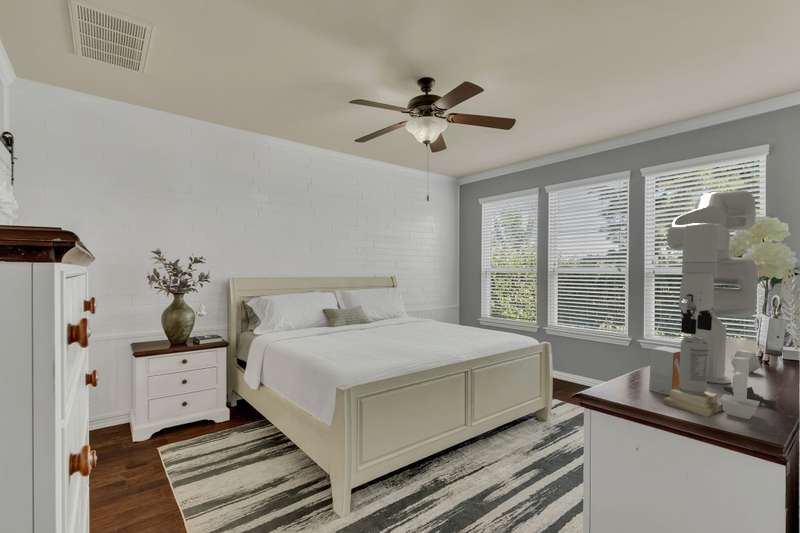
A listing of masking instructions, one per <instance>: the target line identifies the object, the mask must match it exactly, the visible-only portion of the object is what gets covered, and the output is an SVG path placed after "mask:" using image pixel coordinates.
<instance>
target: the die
mask: <svg viewBox="0 0 800 533" xmlns="http://www.w3.org/2000/svg"><path fill="white" fill-rule="evenodd" d="M734 357H744V358H749V374H750V373H751V374H752V373H754V372H756V371H757V370H759V369H760V368H761V364H760V359H759V357H758V356H757V354H756V352H752V351H749V350H746V349H742V350H741V349H740V350H737V351H735V352H734V353H732V354H731V355H729V358H730V363H731V365H732V367H733V368H734V370H735V364H734Z"/></svg>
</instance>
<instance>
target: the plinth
mask: <svg viewBox="0 0 800 533" xmlns="http://www.w3.org/2000/svg"><path fill="white" fill-rule="evenodd" d="M718 396H719V395H718V394H717V393H713V392H709V391H706V392H704V394H703V395H696V394H690V393H686V392H684V391H682V390H681V388H680V387H678V388H675V389H672V390H670V396H668V397H665V398H663V404H664V405H666V406H669V407H673V408H677V409H679V410H682V411H683V410H684V411H687V412H690V413H693V414H697V415H700V416H703V417H710V416H712V415H714V414H716V413H719V412H721V411H724V410H723V409H724V407H723V405H722V403H721V402H718Z"/></svg>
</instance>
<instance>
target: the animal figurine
mask: <svg viewBox="0 0 800 533" xmlns="http://www.w3.org/2000/svg"><path fill="white" fill-rule="evenodd" d="M722 388H723V391H724V392H725V393H726V394H727V393H728V395H731V396H734V393H733V386H728V385H727V386H723V387H722ZM747 399H750V400H755V401H760V403H759V405H760V406H762V404H763V405H764V406H766V407H769V408H772V409H774V410H775V409H776V408H777V407H776V405H777V400H776V399H775V400H773V399H765V398H764V397H763V396H760V395H759V394H757V393H755V392H754V389H753V387H752V386H750V387H747ZM759 405H758V406H759Z"/></svg>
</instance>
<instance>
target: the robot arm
mask: <svg viewBox="0 0 800 533" xmlns="http://www.w3.org/2000/svg"><path fill="white" fill-rule="evenodd" d="M756 207H757V206H756V200H755V197H754V196H753V194H752V193H751V192H749V191H748V190H729V191H728V190H727V191H715V192H710V193H709V192H708V193H706V194H703V195H701V196H700V197H699V198H698V200H697V201H696V204H695V207H694V209H693V210H691V211H688V212H686V213H683V214H681V215H679V216H677V217H675V218H674V219H673V220H672V222H671V223H670V225H669V228H668V231H667V234H666V243H667V245H668V247H669V248H670V249H672V250H674V251H681V252H682V261H681V262H682V263H681V266H682V267H681V274H682V278H681V281H680V289H679V299H678V308H679V309H680V312H681V315H680V317H681V327H680V328H681V333H683V334H689V335H690V336H698V337H703V338H706V342H707V344H708V368H707V383H711V384H730V383H731V378H730V377H729V376H726V374H725V373H726V372H725V371H726V351H727V350H726V348H727V328H726V326H725V325H724V323H723V322H722V321H721V320H720V319H719V318H718V317H729V318H732V317H733V318H741V319H745V318H746V319H748V318H751V317H753V316H754V315H755V313H756V311H757V305H758V304H757V302H758V265H757V263H756V261H755V260H753V259H752V258H749V257H736V256H735V257H733V256H732V257H730V255H729V254H730V242H731V232H730V231H740V230H741V231H742V230H748V229H750V228H752V227H753V226H754V225H755V222H756V218H757V215H756V214H757V213H756V211H757V210H756V209H757V208H756ZM715 285H718V286H719V285H721V286H722V285H723V286H734V287H738V288H733V287H731V288H730V287H718V286H715Z"/></svg>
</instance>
